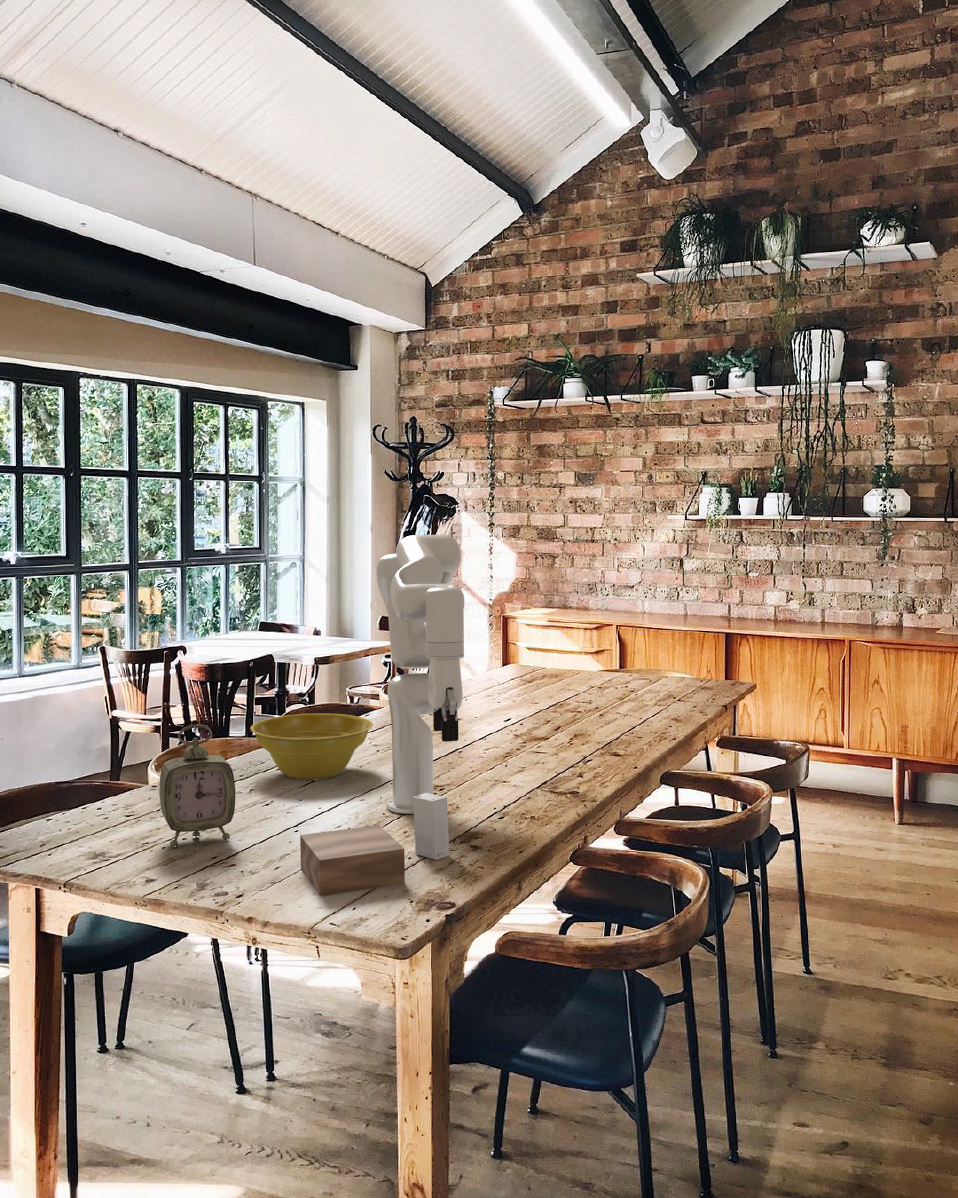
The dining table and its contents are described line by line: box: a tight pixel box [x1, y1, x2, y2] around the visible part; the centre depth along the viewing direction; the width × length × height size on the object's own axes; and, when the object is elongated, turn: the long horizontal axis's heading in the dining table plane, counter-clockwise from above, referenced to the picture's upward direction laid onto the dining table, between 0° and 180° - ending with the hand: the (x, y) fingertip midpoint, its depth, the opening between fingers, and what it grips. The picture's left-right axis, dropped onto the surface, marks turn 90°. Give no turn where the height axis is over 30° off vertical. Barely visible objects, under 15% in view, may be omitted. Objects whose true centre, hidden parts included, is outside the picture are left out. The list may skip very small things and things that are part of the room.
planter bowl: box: [249, 713, 374, 781], centre depth 271 cm, size 32×32×13 cm
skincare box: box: [413, 793, 450, 861], centre depth 205 cm, size 6×4×12 cm
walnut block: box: [299, 824, 406, 897], centre depth 194 cm, size 16×16×7 cm
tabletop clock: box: [158, 724, 237, 848], centre depth 215 cm, size 14×9×25 cm, turn 115°
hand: (445, 735), depth 201 cm, fingers open, 9 cm apart
